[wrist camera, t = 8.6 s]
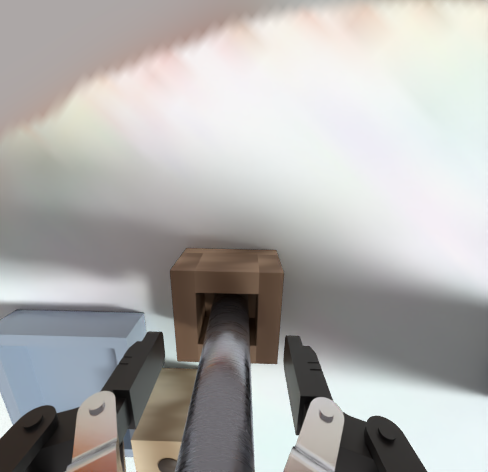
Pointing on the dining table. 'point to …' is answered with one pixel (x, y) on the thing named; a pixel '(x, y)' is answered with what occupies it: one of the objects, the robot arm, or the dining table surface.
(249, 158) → the dining table surface
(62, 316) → the tray
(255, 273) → the wooden square socket
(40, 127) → the dining table surface
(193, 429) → the rod
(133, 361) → the robot arm
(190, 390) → the block
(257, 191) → the dining table surface
